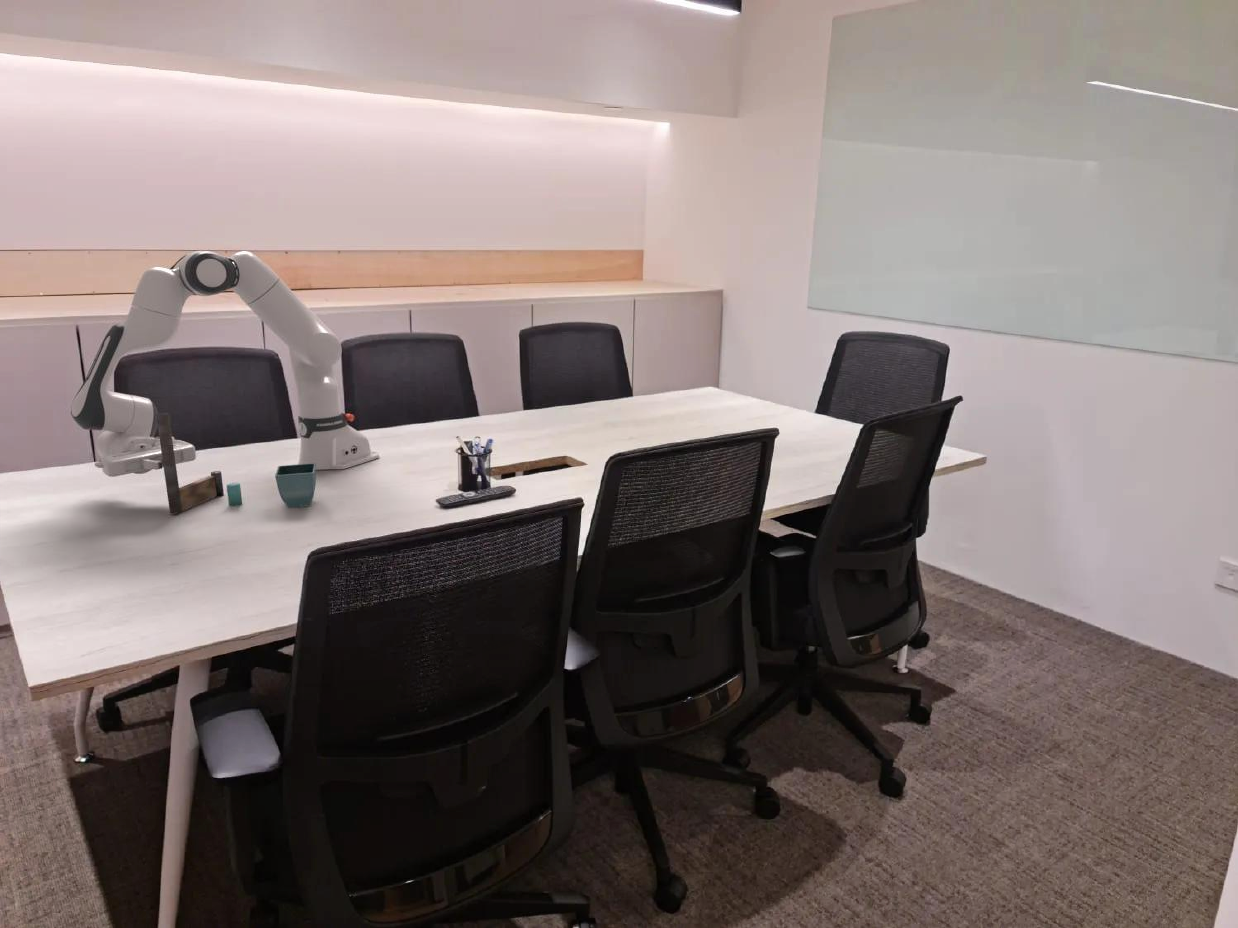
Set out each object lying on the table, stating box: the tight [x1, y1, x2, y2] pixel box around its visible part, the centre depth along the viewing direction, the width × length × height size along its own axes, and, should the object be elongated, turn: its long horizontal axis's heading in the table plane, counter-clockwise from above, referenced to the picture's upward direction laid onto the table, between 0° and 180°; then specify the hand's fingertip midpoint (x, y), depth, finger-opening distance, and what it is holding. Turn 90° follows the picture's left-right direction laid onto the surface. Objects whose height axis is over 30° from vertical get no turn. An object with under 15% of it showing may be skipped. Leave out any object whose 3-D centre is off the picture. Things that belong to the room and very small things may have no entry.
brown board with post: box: [156, 412, 217, 515], centre depth 211 cm, size 15×3×24 cm, turn 166°
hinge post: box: [210, 470, 225, 498], centre depth 222 cm, size 2×2×6 cm
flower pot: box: [274, 463, 317, 508], centre depth 215 cm, size 9×9×9 cm
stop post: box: [226, 482, 243, 507], centre depth 215 cm, size 3×3×5 cm
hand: (163, 464), depth 206 cm, fingers closed
